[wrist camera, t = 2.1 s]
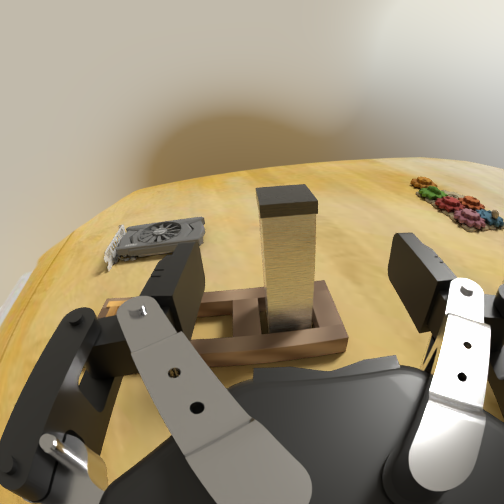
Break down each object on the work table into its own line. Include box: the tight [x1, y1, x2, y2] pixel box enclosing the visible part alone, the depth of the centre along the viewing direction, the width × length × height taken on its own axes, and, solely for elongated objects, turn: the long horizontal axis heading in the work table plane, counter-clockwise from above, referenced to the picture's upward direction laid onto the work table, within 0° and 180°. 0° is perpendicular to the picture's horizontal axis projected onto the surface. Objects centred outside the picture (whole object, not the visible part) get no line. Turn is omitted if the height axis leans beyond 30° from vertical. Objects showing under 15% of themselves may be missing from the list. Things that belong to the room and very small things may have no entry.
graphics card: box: [104, 217, 205, 271], centre depth 46 cm, size 17×4×12 cm
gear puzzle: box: [411, 177, 504, 232], centre depth 55 cm, size 31×16×4 cm, turn 3°
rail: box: [97, 280, 349, 367], centre depth 28 cm, size 26×9×2 cm, turn 93°
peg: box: [256, 184, 318, 334], centre depth 25 cm, size 4×4×14 cm
